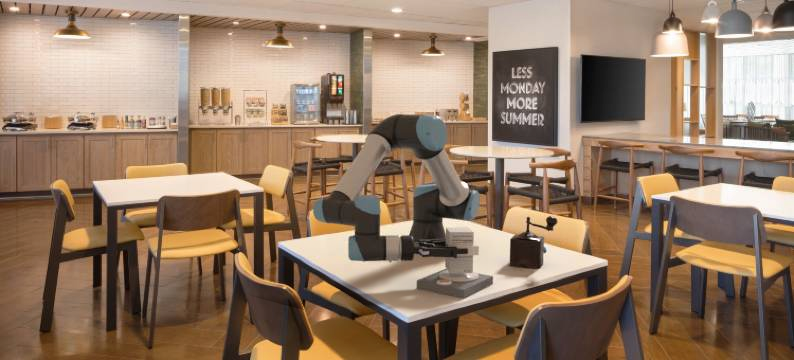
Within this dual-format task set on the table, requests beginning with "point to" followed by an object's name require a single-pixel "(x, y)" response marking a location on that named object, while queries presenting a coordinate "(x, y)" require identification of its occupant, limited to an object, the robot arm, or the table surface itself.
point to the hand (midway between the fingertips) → (475, 247)
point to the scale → (454, 283)
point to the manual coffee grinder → (529, 246)
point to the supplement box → (459, 238)
